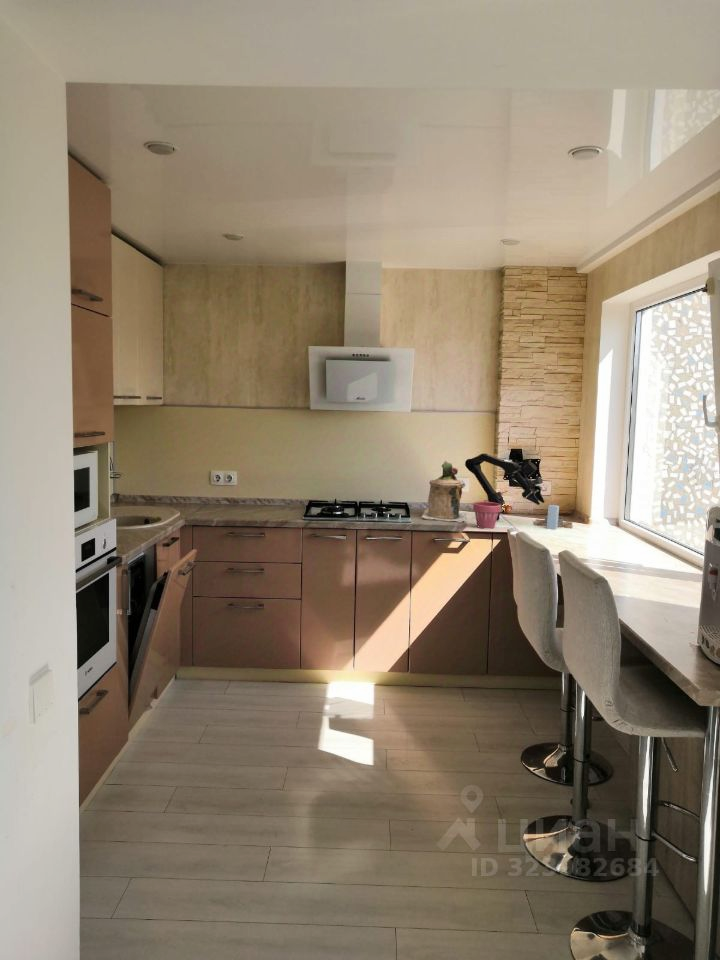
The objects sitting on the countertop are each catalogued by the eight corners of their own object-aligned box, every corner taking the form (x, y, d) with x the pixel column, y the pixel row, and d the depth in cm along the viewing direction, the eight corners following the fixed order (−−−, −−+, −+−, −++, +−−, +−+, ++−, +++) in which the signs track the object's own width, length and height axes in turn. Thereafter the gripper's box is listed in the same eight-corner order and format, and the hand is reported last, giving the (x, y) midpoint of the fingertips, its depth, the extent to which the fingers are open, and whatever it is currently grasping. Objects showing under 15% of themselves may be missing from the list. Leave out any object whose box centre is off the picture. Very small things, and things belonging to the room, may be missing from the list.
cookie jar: (420, 519, 412) (423, 462, 409) (424, 512, 436) (427, 458, 433) (465, 523, 408) (469, 465, 404) (467, 516, 432) (470, 461, 428)
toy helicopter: (513, 513, 449) (515, 490, 448) (487, 515, 438) (489, 492, 436) (504, 511, 456) (505, 489, 455) (478, 513, 445) (480, 490, 443)
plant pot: (481, 530, 389) (482, 505, 387) (467, 525, 401) (468, 501, 400) (504, 529, 394) (506, 505, 393) (489, 524, 407) (491, 501, 406)
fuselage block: (546, 528, 402) (548, 505, 401) (549, 527, 406) (550, 504, 405) (555, 529, 400) (556, 506, 399) (557, 528, 404) (559, 505, 403)
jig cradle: (534, 525, 411) (535, 517, 411) (535, 521, 424) (535, 514, 423) (572, 528, 407) (573, 520, 406) (571, 524, 419) (572, 517, 419)
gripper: (529, 473, 397) (548, 496, 393) (539, 470, 414) (557, 492, 410) (513, 486, 402) (532, 509, 398) (524, 483, 418) (542, 505, 414)
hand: (541, 503), depth 405 cm, fingers open, 9 cm apart
